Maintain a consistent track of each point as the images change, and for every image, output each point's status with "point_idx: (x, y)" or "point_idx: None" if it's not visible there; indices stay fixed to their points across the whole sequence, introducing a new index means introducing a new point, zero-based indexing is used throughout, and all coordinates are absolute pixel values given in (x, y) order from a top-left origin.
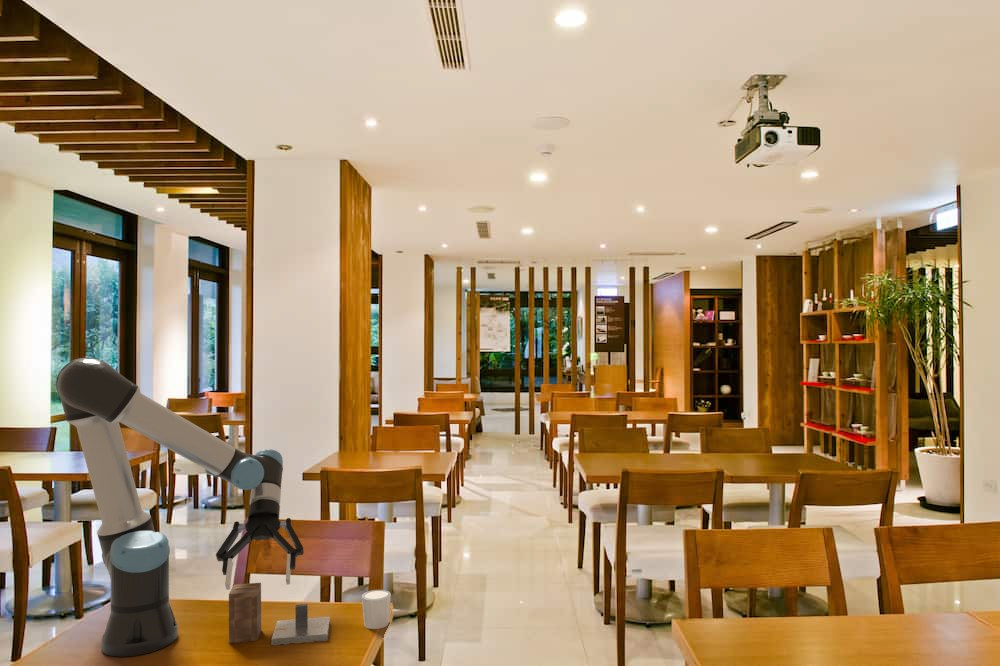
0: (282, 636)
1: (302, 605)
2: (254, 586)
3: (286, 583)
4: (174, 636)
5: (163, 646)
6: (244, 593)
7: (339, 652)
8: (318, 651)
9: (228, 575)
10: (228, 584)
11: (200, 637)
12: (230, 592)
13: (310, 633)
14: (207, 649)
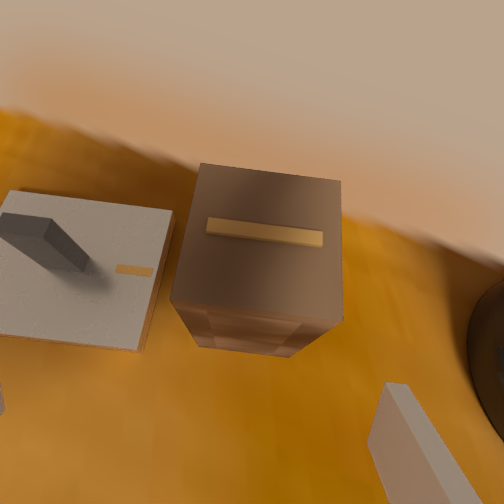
0: (139, 214)
1: (19, 222)
2: (212, 227)
3: (2, 398)
4: (476, 342)
5: (480, 300)
6: (262, 172)
7: (21, 134)
8: (66, 154)
9: (424, 442)
10: (384, 384)
11: (392, 352)
12: (336, 197)
13: (55, 207)
14: (347, 255)
